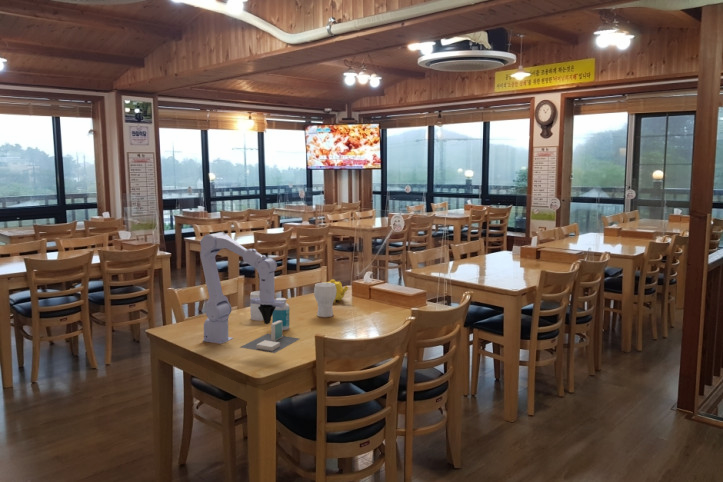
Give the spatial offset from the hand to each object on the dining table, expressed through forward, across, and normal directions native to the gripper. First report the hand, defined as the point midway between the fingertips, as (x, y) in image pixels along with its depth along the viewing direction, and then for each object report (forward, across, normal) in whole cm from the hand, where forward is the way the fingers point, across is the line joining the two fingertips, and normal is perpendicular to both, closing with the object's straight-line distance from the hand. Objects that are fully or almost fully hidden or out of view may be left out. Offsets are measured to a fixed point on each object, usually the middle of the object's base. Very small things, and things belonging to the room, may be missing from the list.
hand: (267, 323), depth 226 cm
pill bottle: (+10, -9, +24) cm, 28 cm away
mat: (+10, -2, +5) cm, 11 cm away
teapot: (+10, -11, +80) cm, 82 cm away
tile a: (+9, -3, -1) cm, 9 cm away
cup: (+10, -2, +53) cm, 54 cm away
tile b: (+10, -2, +10) cm, 14 cm away
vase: (+10, -27, +35) cm, 45 cm away
